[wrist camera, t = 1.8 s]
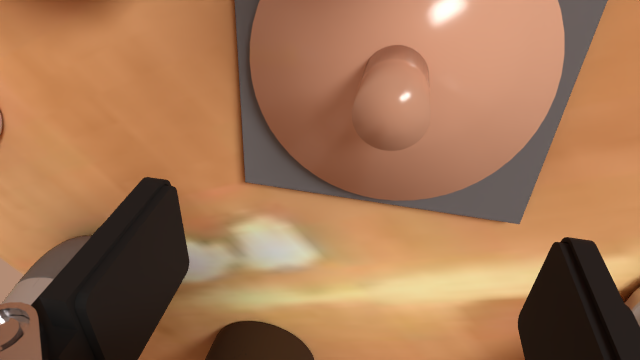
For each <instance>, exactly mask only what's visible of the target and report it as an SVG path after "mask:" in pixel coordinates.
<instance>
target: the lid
mask: <svg viewBox="0 0 640 360" xmlns="http://www.w3.org/2000/svg"><path fill="white" fill-rule="evenodd" d="M563 61H564V26H563V20H562V13H561V9H560V6H559V3H558V0H260V1H259V3H258V7H257V10H256V14H255V17H254V21H253V25H252V32H251V39H250V69H251V78H252V83H253V87H254V91H255V95H256V99H257V101H258V104H259V107H260V109H261V112H262V114H263V116H264V118H265V120H266V122H267V124H268V126H269V128H270V129H271V131H272V132H273V134H274V135H275V137H276V138H277V139H278V141H279V142H280V143H281V145H282V146H283V147H284V148H285V149H286V150H287V152H288V153H289V154H290V155H291V156H292V157H293V158H294V159H295V160H297V161H298V162H299V163H300V164H301V165H302V166H303V167H305V168H306V169H307V170H309V171H310V172H311V173H313V174H314V175H316V176H317V177H319V178H321V179H322V180H324V181H326V182H328V183H329V184H331V185H334V186H336V187H338V188H341V189H343V190H345V191H348V192H351V193H355V194H358V195H361V196H365V197H370V198H375V199H383V200H394V201H404V200H420V199H428V198H433V197H438V196H442V195H447V194H449V193H452V192H455V191H458V190H461V189H464V188H466V187H468V186H470V185H473V184H475V183H477V182H479V181H481V180H482V179H484V178H486V177H487V176H489V175H491V174H492V173H494V172H496V171H497V170H498V169H500V168H501V167H502V166H503V165H505V164H506V163H507V162H509V161H510V160H511V159H512V158H513V157H514V156H515V155H516V154H517V153H518V152H519V151H520V150H521V149H522V148H523V147H524V146H525V145H526V144H527V143H528V141H529V140H530V139H531V138H532V136H533V135H534V134H535V133H536V131H537V130H538V128H539V127H540V125H541V123H542V122H543V120H544V118H545V117H546V115H547V113H548V111H549V109H550V107H551V104H552V102H553V100H554V98H555V95H556V92H557V89H558V85H559V82H560V78H561V75H562V68H563Z"/></svg>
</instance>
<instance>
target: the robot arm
mask: <svg viewBox="0 0 640 360" xmlns="http://www.w3.org/2000/svg"><path fill="white" fill-rule="evenodd" d="M188 267H189V257H188V251H187V245H186V240H185V234H184V228H183V223H182V217H181V212H180V206H179V200H178V195H177V190H176V188H175V187H173V186H171V184H170V182H169V181H168V180H164V179H157V178H150V177H146V178H144V179H142V180H141V181H140V183H139V184H138V185H137V186H136V187H135V188H134V189H133V191H132V192H131V193H130V194H129V195H128V196H127V197H126V198H125V200H124V201H123V202H122V203H121V204H120V205H119V206H118V208H117V209H116V210H115V211H114V212H113V213H112V214H111V216H110V217H109V218H108V219H107V220H106V221H105V222H104V223H103V225H102V226H101V227H99V228H98V230H97V231H96V232H95V233H94V234H93V235H92V236H91V237H90V239H89V240H88V241H87V242H86V243H85V244H84V245H83V247H82V248H81V249H80V250H79V251H78V252H77V253H76V254H75V256H74V257H73V258H72V259H71V260H70V261H69V262H68V264H67V265H66V266H65V267H64V268H63V269H62V270H61V271H60V273H59V274H58V275H57V276H56V277H55V278H54V279H53V281H52V282H51V283H50V284H49V285H48V286H47V287H46V288H45V290H44V291H43V292H42V293H41V294H40V295H39V296H38V298H37V299H36V300H35V301H34V302H33V303H32V304H31V305H29V304H25V303H22V302H9V303H4V304H0V360H138V358H139V356H140V355H141V353H142V351H143V349H144V348H145V346H146V344H147V342H148V341H149V339H150V337H151V335H152V333H153V332H154V330H155V328H156V326H157V325H158V323H159V321H160V319H161V318H162V316H163V314H164V312H165V310H166V309H167V307H168V305H169V303H170V302H171V300H172V298H173V296H174V295H175V293H176V291H177V289H178V287H179V286H180V284H181V282H182V280H183V279H184V277H185V275H186V273H187V271H188ZM518 330H519V335H520V339H521V343H522V348H523V352H524V357H525V360H640V287H639V288H638V289H637V290H636V291H634V292H633V294H632V295H631V296H630V297H629V298H628V300H627V301H626V302H625V303H624V302H623V300H622V298H621V296H620V294H619V291H618V289H617V287H616V285H615V283H614V281H613V279H612V277H611V275H610V273H609V271H608V269H607V267H606V265H605V263H604V260H603V258H602V256H601V254H600V252H599V250H598V248H597V246H596V244H595V243H594V242H593V241H589V240H582V239H576V238H569V237H566V238H564V239H562V241H561V242H555V243H554V244H553V245H552V247H551V249H550V251H549V253H548V255H547V257H546V259H545V262H544V264H543V266H542V268H541V270H540V272H539V274H538V276H537V278H536V281H535V283H534V285H533V287H532V289H531V291H530V293H529V295H528V297H527V300H526V302H525V304H524V306H523V308H522V310H521V312H520V315H519V318H518Z"/></svg>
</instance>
